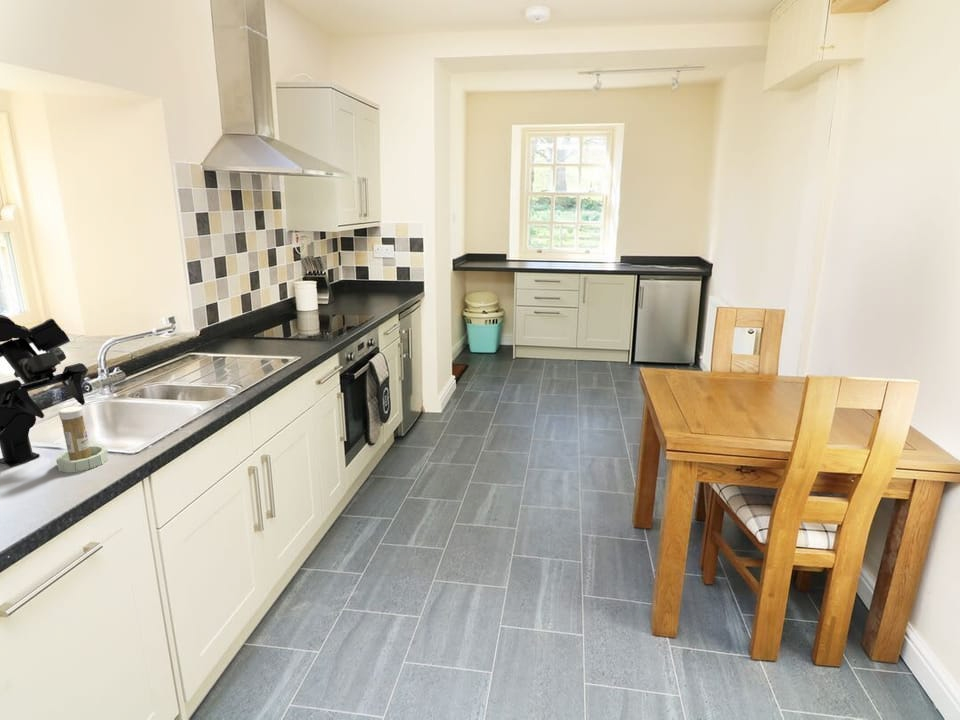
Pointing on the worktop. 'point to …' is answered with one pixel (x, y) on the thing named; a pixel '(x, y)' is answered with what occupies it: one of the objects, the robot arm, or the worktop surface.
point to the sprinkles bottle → (75, 433)
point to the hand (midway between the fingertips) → (64, 410)
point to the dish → (83, 460)
